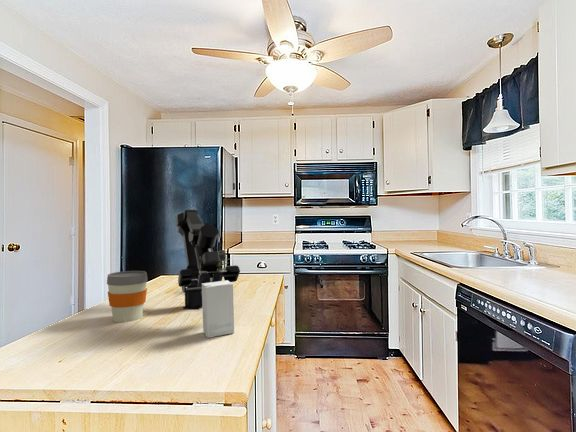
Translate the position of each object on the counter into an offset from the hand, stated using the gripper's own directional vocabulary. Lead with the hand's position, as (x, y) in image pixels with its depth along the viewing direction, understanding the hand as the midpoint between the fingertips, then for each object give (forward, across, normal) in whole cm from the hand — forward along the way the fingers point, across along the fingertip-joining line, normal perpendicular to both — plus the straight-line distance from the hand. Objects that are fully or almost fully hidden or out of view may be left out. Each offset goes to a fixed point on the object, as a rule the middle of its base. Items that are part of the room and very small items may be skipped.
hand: (214, 298), depth 107 cm
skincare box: (+10, 0, +4) cm, 10 cm away
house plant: (-31, +14, +44) cm, 56 cm away
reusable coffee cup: (-11, -23, +24) cm, 35 cm away
